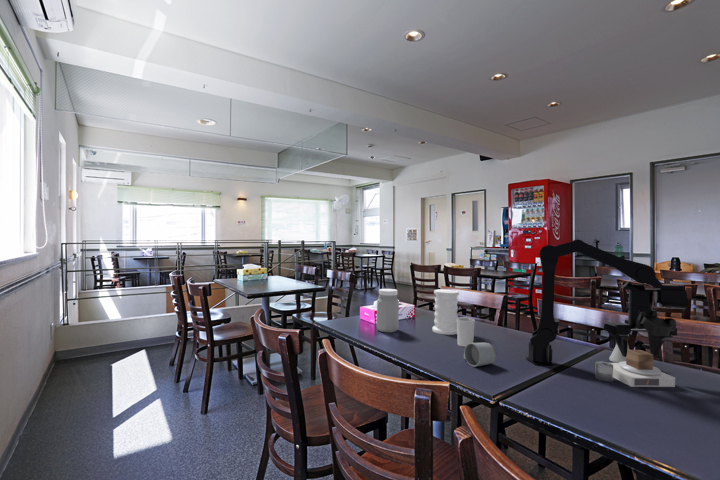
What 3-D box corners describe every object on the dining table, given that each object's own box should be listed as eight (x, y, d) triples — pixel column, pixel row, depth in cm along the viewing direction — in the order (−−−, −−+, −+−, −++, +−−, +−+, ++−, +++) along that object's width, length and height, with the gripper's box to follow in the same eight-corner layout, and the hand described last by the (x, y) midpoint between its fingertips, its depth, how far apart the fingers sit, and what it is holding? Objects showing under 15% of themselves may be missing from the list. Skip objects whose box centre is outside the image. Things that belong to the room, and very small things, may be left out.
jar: (402, 330, 158) (403, 290, 158) (389, 334, 151) (389, 292, 151) (385, 326, 165) (386, 287, 165) (371, 329, 158) (372, 289, 158)
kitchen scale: (632, 387, 101) (632, 375, 101) (600, 370, 113) (601, 360, 113) (676, 387, 101) (676, 375, 101) (640, 371, 114) (640, 360, 114)
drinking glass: (477, 345, 138) (478, 319, 138) (466, 348, 134) (467, 321, 134) (464, 341, 143) (464, 316, 143) (452, 343, 139) (453, 318, 139)
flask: (640, 367, 117) (640, 337, 117) (615, 365, 119) (616, 335, 119) (628, 360, 125) (628, 331, 124) (605, 358, 126) (605, 330, 126)
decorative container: (438, 335, 152) (439, 293, 152) (428, 328, 163) (429, 289, 163) (463, 334, 154) (464, 292, 154) (451, 327, 165) (452, 289, 165)
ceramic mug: (497, 366, 115) (498, 343, 115) (479, 369, 112) (479, 346, 112) (474, 357, 124) (475, 336, 125) (457, 360, 121) (457, 338, 121)
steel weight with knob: (602, 381, 105) (602, 366, 105) (591, 375, 109) (592, 360, 109) (616, 381, 105) (616, 366, 105) (605, 375, 109) (605, 360, 109)
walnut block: (638, 369, 105) (638, 354, 105) (626, 364, 110) (626, 349, 110) (652, 369, 105) (653, 354, 105) (640, 364, 110) (640, 349, 110)
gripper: (632, 310, 99) (630, 366, 99) (696, 311, 100) (694, 366, 100) (603, 302, 110) (601, 353, 110) (661, 303, 111) (659, 353, 111)
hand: (639, 356), depth 107 cm, fingers open, 9 cm apart
